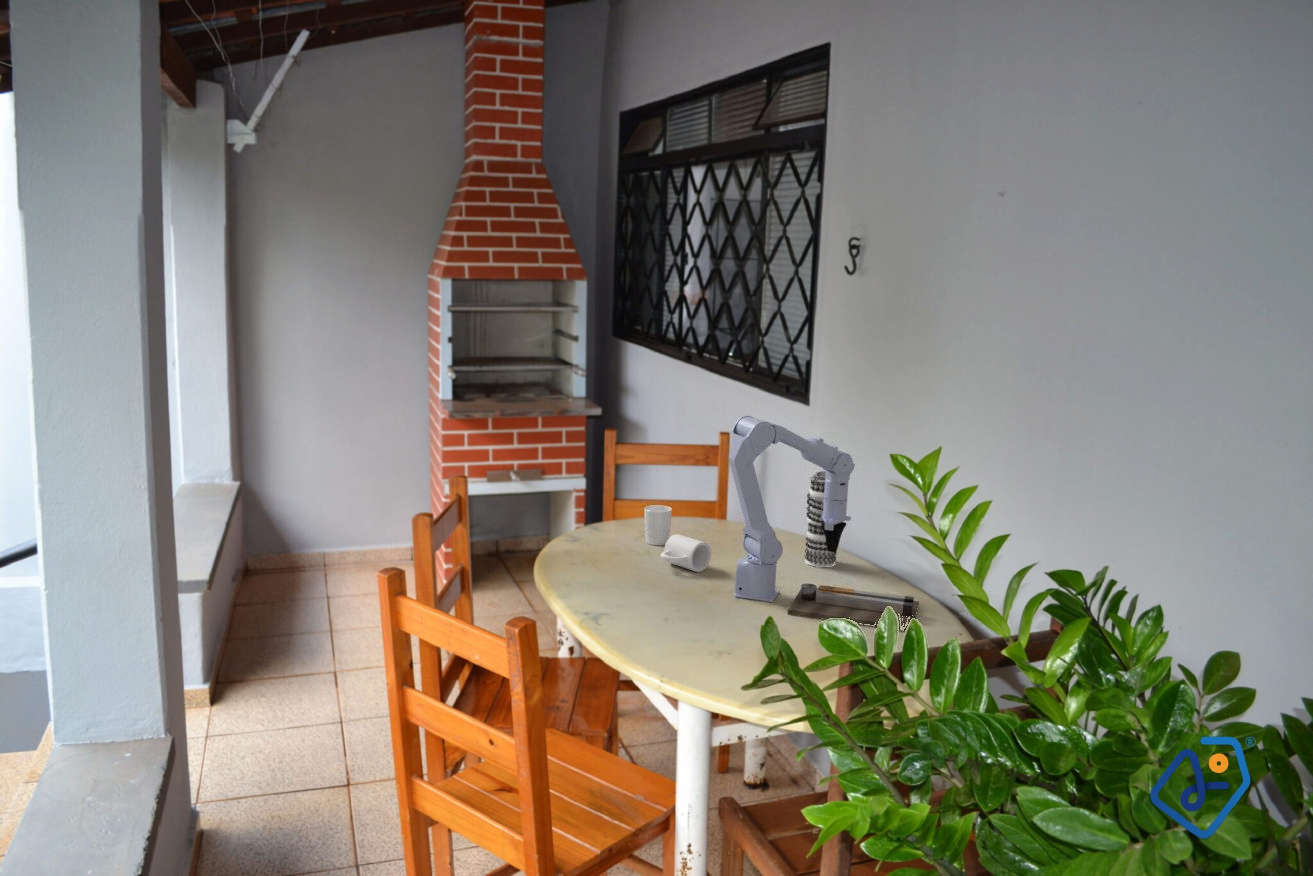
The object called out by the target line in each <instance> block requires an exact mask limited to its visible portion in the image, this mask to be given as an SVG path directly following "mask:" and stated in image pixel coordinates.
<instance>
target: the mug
mask: <svg viewBox="0 0 1313 876" xmlns="http://www.w3.org/2000/svg"><path fill="white" fill-rule="evenodd" d="M660 558H661V559H662V560H663V561H665V562H668V563H670V564H672V565H675V566H678V567H682V568H684V569H686V570H690V571H693V572H696V573H701V572H703V571H705V569H706V568H707V567H708V565H709V564H710V562H711V559H712V549H711V546H710V545H709V544H708V542H705V541H701V540H699V539H696V538H693V537H689V536H686V535H685V536H684V535H683V534H679V533H676V534H672V535H671V536H669V539H668V540H667V542H666V544H665V545H664V549H663V551H662V552H661V553H660Z"/></svg>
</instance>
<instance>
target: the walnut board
mask: <svg viewBox="0 0 1313 876" xmlns="http://www.w3.org/2000/svg"><path fill="white" fill-rule="evenodd" d="M818 588H819V587H817V588H816V592H817V591H818ZM919 604H920V601H918V600H914V602H913V611H912V615H913V616H910V619H908V624H909V622H910V620H911V619H912V618H915V619H916V618H917V614H916V612H917V613H918V611H917V608H918V609H919V607H918V605H919ZM882 613H883V612H879V611H872V610H865V609H858V608H851V607H844V606H837V605H830V604H823V603H816V599H813V600H806V599H803V598H801V589H800V590H799V592H798V593H797V595H796V596H795V598H794V599H793V601H792V602H791V604H790V606H789V607H788V608H787V615H790V616H798V617H805V618H812V619H817V620H825V621H827V620H826V619H829V618H846V619H850V620H853V621H855V622H857V623H858V624H859V623H862V624H863V625H862V626H864V624H870V625H874V624H875V622H876V625H875V627H874V628H878V627H877V624H878V621H879V619H880V618H881V615H882ZM915 615H916V616H915ZM897 616H898V621H899V632H901V631H900V620H899V615H898V614H897ZM902 616H903V617H902ZM849 617H850V618H849ZM908 617H909V616H907V617H906V615H900V618H901V626H902V625H903V623H904V626H903V627H905V624H906V622H907V618H908ZM822 618H823V619H822ZM902 618H903V621H902ZM859 626H861V625H860V624H859ZM907 626H908V625H907ZM907 626H906V628H907ZM906 628H905V629H904V631H903V632H905V630H906Z"/></svg>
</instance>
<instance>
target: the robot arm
mask: <svg viewBox="0 0 1313 876" xmlns="http://www.w3.org/2000/svg"><path fill="white" fill-rule="evenodd" d="M730 432H731V441H730V447H729V448H730V449H729V453H728V461H729V466H730V469H731V473H732V478H733V480H734V481H733V482H734V484H735V488H736V492H737V496H738V499H739V503H740V508H741V511H742V512H741V513H742V514H743V519H744V523H745V525H744V527H743V528H742V532H743V538H742V546H743V549H744V551H746V557H739V559H738V560H737V565H736V571H735V590H734V597H736V598H742V599H747V600H748V599H749V600H756V601H763V602H769V603H770V602H771V603H773V602H774V601H775V599H776V598H777V596H778V595H779V594H780V590H779V589H776V580H777V579H776V578H777V564H778V561H779V560H780V558H781V557H782V555H783V552H784V551H783V550H784V549H783V544H782V543H781V541H780V540H779V539H778V538H777V533H776V531H774V529H773V527H772V525H770V522H769V520H768V516H767V512H766V509H765V504H764V501H763V496H762V492H761V487H760V486H759V481H758V476H757V474H756V469H755V465H754V462H755V461H756V458H758V457H759V456H760V455H761V454H762V453H763V452H765V450H767V449H768V448H769V447H770V446H771V445H772V444H773V445H776V444H778V443H782V444H784V445H786V446H788V447H790V448H793V449H795V450H797V451H799V452H800V454H801V455H800V456H801V457H802V458H803V459H804V460H805V461H807V462H810V463H812V464H814V465H816V466H818V467H820V468H822V469H823V471H825V472H826V473H825V489H824V505H823V514H822V519H823V520H824V522H823V523H822V524H821V527H822V529H823V532H824V534H825V538H826V545H827V550H828V551H829V552H836V551H838V548H839V545H840V540H841V538H842V534H843V531H844V529H845V528H846V526H847V523H846V521H847V522H849V521H851V520H852V517H851V516H850V515H847V509H848V496H849V495H848V493H849V481H850V479H851V477H850V476H851V474H852V473H853V471H854V469H855V466H856V465H855V464H856V463H854V460H853V457H852V455H850V454H849V453H846V452H845V451H844V452H843V450H838V449H839V447H838V446H836V445H830V444H828V443H826V442H824V441H825V440H824V439H823V438H822V437H818V436H817V437H810V438H808V439H806V438H804V437H802V436H800V435H799V434H797V433H795V432H793V431H792V430H790V429H788V428H786V427H784V426H782V425H779V424H776V423H773V422H769V421H767V420H763V419H759V418H754V417H753V416H751V415H744V416H743V415H742V416H741V417H740V418H737V420H736V422H735V423H734V424H733V426H732V428H731V430H730Z"/></svg>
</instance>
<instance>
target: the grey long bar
mask: <svg viewBox="0 0 1313 876" xmlns="http://www.w3.org/2000/svg"><path fill="white" fill-rule="evenodd" d="M816 603H823V604H830V605H837V606H844V607H851V608H858V609H865V610H872V611H879V612H884V610H885V608H886V607H887V606H891V607H892V608H893V610H894V611H895V613H896V614H898V613H899V614H900V615H906V616H912V608H913V603H909V602H901V601H894V600H886V599H879V598H872V597H864V596H857V595H850V594H843V593H835V592H828V591H821V590H818V591H817V592H816Z"/></svg>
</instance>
